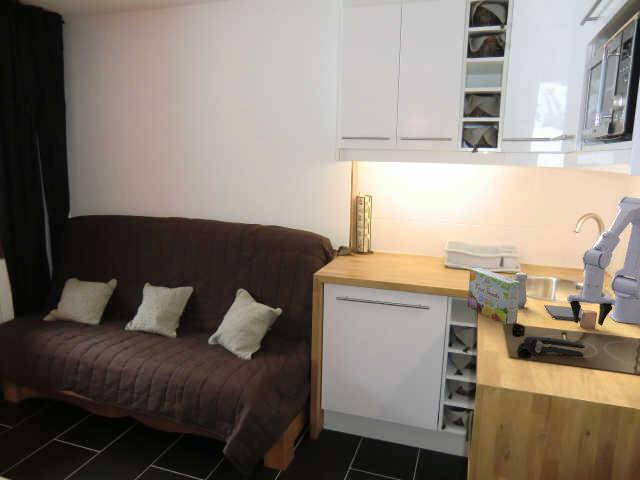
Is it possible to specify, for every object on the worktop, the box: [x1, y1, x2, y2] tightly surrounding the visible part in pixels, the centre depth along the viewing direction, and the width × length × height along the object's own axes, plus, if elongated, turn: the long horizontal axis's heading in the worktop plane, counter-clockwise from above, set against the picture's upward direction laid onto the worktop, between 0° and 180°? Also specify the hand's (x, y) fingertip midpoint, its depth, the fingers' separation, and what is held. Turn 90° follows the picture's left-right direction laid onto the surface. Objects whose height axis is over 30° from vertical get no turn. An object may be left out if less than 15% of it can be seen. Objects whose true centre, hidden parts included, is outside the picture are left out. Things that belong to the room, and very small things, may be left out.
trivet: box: [543, 304, 584, 322], centre depth 182 cm, size 13×13×1 cm
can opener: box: [519, 335, 586, 357], centre depth 144 cm, size 18×7×6 cm, turn 84°
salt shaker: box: [514, 272, 528, 309], centre depth 190 cm, size 6×6×13 cm
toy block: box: [579, 309, 598, 331], centre depth 168 cm, size 5×5×6 cm
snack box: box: [467, 267, 520, 326], centre depth 178 cm, size 21×6×15 cm, turn 21°
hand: (587, 323), depth 169 cm, fingers open, 7 cm apart
